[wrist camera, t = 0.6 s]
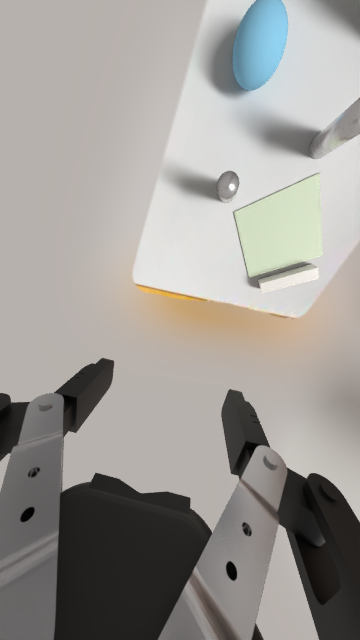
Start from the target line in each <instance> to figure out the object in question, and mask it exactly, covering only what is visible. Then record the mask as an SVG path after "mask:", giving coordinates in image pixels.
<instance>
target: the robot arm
mask: <svg viewBox="0 0 360 640" xmlns="http://www.w3.org/2000/svg"><path fill="white" fill-rule="evenodd" d="M113 368H114V361H113V360H109V359H105V358H102V359H100V360H99V361H98V362H97V363H96V364H90V365H87V366H85V367H84V368H82V369H81V370H80V371H79V372H78V373H77V374H75V375H74V376H73V377H72V378H71V379H70V380H68V381H67V382H66V383H65V384H64V385H63V386H61V387H60V388H59V389H58V390H57V391H56V392H54V393H49V394H44V395H41V396H39V397H37V398H35V399H34V400H33V401H31V402H17V403H11V399H10V396H9V395H7V394H4V393H0V461H1V460H2V459H3V458H4V457H5V456H6V455H7V454H8V453H11V455H10V459H9V462H8V466H7V470H6V474H5V477H4V481H3V484H2V488H1V492H0V640H263V637H262V635H261V633H260V631H259V629H258V627H257V625H256V623H255V622H256V618H257V614H258V610H259V605H260V601H261V597H262V593H263V589H264V584H265V580H266V576H267V572H268V567H269V563H270V559H271V555H272V550H273V546H274V542H275V537H276V533H277V529H278V525H279V524H280V525H282V526H283V527H284V528H286V532H287V535H288V538H289V541H290V545H291V548H292V551H293V555H294V558H295V561H296V565H297V568H298V571H299V575H300V578H301V581H302V584H303V588H304V591H305V594H306V598H307V601H308V604H309V607H310V610H311V614H312V617H313V620H314V624H315V627H316V630H317V633H318V637H319V640H360V522H359V520H358V519H357V517H356V516H355V514H354V512H353V511H352V509H351V507H350V506H349V504H348V503H347V501H346V499H345V498H344V496H343V495H342V493H341V492H340V491H339V490H338V489H337V487H336V486H335V485H334V484H332V483H331V482H330V481H329V480H328V479H326V478H325V477H323V476H321V475H319V474H316V473H311V474H309V476H308V477H307V479H306V478H304V477H303V476H301V475H299V474H297V473H296V472H294V471H292V470H290V469H289V468H287V467H286V464H285V463H284V461H283V459H282V458H281V457H280V456H279V454H277V453H276V452H275V451H274V450H273V449H271V448H270V446H269V443H268V441H267V438H266V436H265V434H264V431H263V429H262V426H261V424H260V421H259V419H258V418H257V414H256V412H255V409H254V408H253V407H252V406H251V404H250V403H249V402H246V401H245V400H244V397H243V394H242V392H239V391H235V390H231V389H230V390H229V391H228V393H227V396H226V399H225V401H224V404H223V407H222V422H223V428H224V434H225V440H226V446H227V452H228V458H229V464H230V469H231V474H234V475H238V476H239V482H238V484H237V486H236V488H235V490H234V492H233V494H232V496H231V498H230V500H229V502H228V504H227V506H226V508H225V510H224V512H223V513H222V516H221V518H220V519H219V522H218V524H217V525H216V527H215V529H214V531H213V533H212V532H211V530H210V528H209V527H208V525H207V524H206V523H205V521H204V520H203V519H202V518H201V517H200V516H199V515H198V514H197V513H196V512H195V511H194V510H192V509H190V498H189V497H185V496H182V495H178V494H174V493H170V492H155V493H139V492H137V491H136V490H134V489H133V488H131V487H130V486H128V485H127V484H125V483H124V482H123V481H121V480H120V479H117V478H113V477H110V476H106V475H102V474H98V473H95V475H94V477H93V479H92V481H91V482H86V483H81V484H78V485H75V486H73V487H71V488H69V489H67V490H65V491H63V492H62V485H63V484H62V483H63V482H62V481H63V443H64V436H65V435H66V434H67V432H68V431H71V432H75V433H76V432H77V431H78V429H79V428H80V427H81V425H82V424H83V423H84V421H85V420H86V419H87V417H88V416H89V415H90V413H91V412H92V411H93V409H94V408H95V406H96V405H97V404H98V403H99V401H100V400H101V398H102V397H103V396H104V394H105V393H106V392H107V390H108V389H109V387H110V385H111V382H112V378H113Z"/></svg>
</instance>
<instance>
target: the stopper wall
mask: <svg viewBox="0 0 360 640" xmlns="http://www.w3.org/2000/svg"><path fill="white" fill-rule="evenodd" d="M315 279H319V274H318V267H316V266H315V265H313V264H310V265H307V266H303V267H300V268H296V269H293V270H289V271H286V272H283V273H279V274H276V275H272V276H269V277H265V278H262V279H259V280H258V282H259V287H260V290H261V292H262V293H265V292H269V291H273V290H277V289H281V288H285V287H288V286H292V285H296V284H300V283H304V282H308V281H312V280H315Z"/></svg>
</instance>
